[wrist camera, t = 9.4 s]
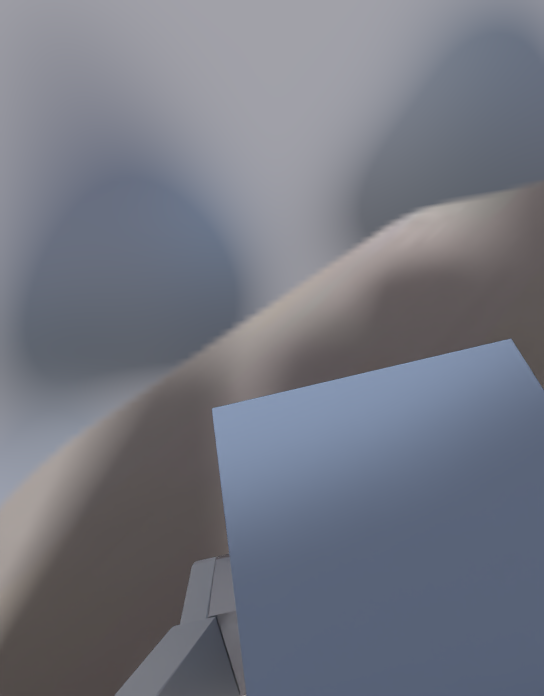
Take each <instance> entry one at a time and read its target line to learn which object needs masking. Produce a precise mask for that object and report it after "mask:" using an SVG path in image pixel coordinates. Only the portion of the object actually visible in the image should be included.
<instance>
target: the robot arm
mask: <svg viewBox="0 0 544 696" xmlns="http://www.w3.org/2000/svg"><path fill="white" fill-rule="evenodd" d="M243 695H246V687H245V679H244V670H243V662H242V654H241V646H240V637H239V629H238V621H237V613H236V604H235V596H234V588H233V579H232V571H231V563H230V555H229V554H226V555H221V556H218V557H212V558H208V559H203V560H199V561H195V563H194V564H193V565H192V568H191V573H190V578H189V582H188V587H187V592H186V597H185V602H184V606H183V611H182V616H181V621H180V625H176V626H173V627H172V628H171V629H170V630H169V631H168V632H167V634H166V635H165V636H164V637H163V638H162V640H161V641H160V642H159V643H158V644H157V646H156V647H155V648H154V649H153V650H152V651H151V653H150V654H149V655H148V656H147V657H146V659H145V660H144V661H143V662H142V663H141V664H140V666H139V667H138V668H137V669H136V670H135V672H134V673H133V674H132V675H131V676H130V678H129V679H128V680H127V681H126V682H125V683H124V685H123V686H122V687H121V688H120V689H119V691H118V692H117V693H116V694H115V695H114V696H243Z"/></svg>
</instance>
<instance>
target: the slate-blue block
mask: <svg viewBox="0 0 544 696" xmlns="http://www.w3.org/2000/svg"><path fill="white" fill-rule="evenodd" d="M212 414H213V422H214V431H215V439H216V447H217V455H218V464H219V472H220V480H221V488H222V497H223V505H224V513H225V522H226V530H227V538H228V546H229V555H230V563H231V571H232V579H233V588H234V596H235V604H236V613H237V621H238V629H239V637H240V646H241V654H242V662H243V670H244V679H245V687H246V695H247V696H544V390H543V388H542V386H541V385H540V383H539V382H538V380H537V379H536V377H535V375H534V374H533V372H532V371H531V369H530V368H529V366H528V364H527V363H526V361H525V360H524V358H523V357H522V355H521V353H520V352H519V350H518V349H517V347H516V346H515V344H514V342H513V341H512V339H507V340H503V341H498V342H494V343H490V344H485V345H481V346H477V347H473V348H468V349H464V350H460V351H455V352H451V353H447V354H443V355H438V356H434V357H430V358H426V359H421V360H417V361H413V362H408V363H404V364H400V365H396V366H391V367H387V368H383V369H378V370H374V371H370V372H366V373H361V374H357V375H353V376H349V377H344V378H340V379H336V380H331V381H327V382H323V383H319V384H314V385H310V386H306V387H302V388H297V389H293V390H289V391H284V392H280V393H276V394H272V395H267V396H263V397H259V398H254V399H250V400H246V401H242V402H237V403H233V404H229V405H225V406H220V407H216V408H212Z"/></svg>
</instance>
